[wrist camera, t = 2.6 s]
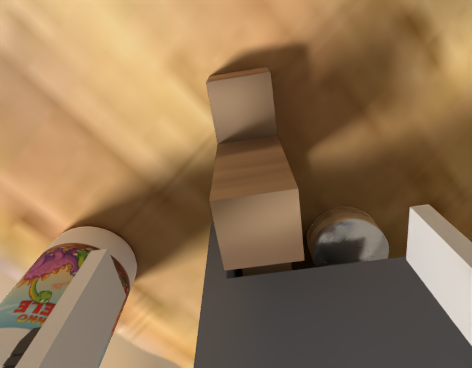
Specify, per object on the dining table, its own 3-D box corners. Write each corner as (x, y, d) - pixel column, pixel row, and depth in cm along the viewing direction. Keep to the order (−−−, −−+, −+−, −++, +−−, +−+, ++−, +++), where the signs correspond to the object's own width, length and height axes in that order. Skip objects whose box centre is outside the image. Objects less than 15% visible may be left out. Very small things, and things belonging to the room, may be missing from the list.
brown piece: (209, 76, 23) (189, 113, 13) (266, 66, 23) (290, 97, 13) (252, 306, 32) (259, 430, 22) (293, 301, 32) (318, 424, 22)
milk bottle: (126, 301, 32) (-16, 656, 14) (45, 276, 31) (-228, 634, 13) (149, 241, 29) (8, 596, 11) (61, 210, 28) (-269, 558, 10)
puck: (303, 212, 28) (310, 231, 25) (375, 200, 27) (390, 218, 25) (309, 266, 30) (316, 288, 28) (375, 256, 30) (388, 278, 27)
